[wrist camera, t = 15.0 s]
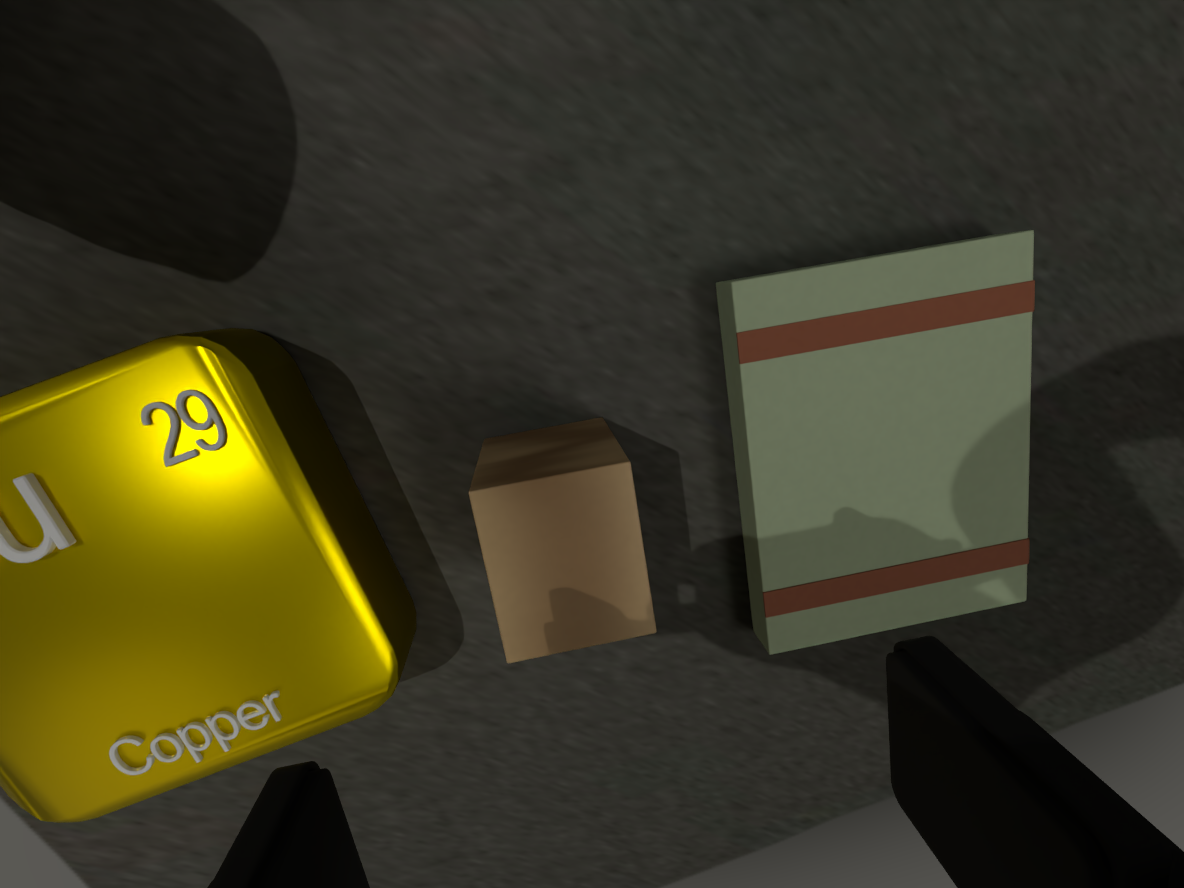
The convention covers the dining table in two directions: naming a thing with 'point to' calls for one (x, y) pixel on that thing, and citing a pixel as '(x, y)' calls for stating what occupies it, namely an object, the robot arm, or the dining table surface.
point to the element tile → (180, 574)
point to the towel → (882, 437)
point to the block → (561, 539)
